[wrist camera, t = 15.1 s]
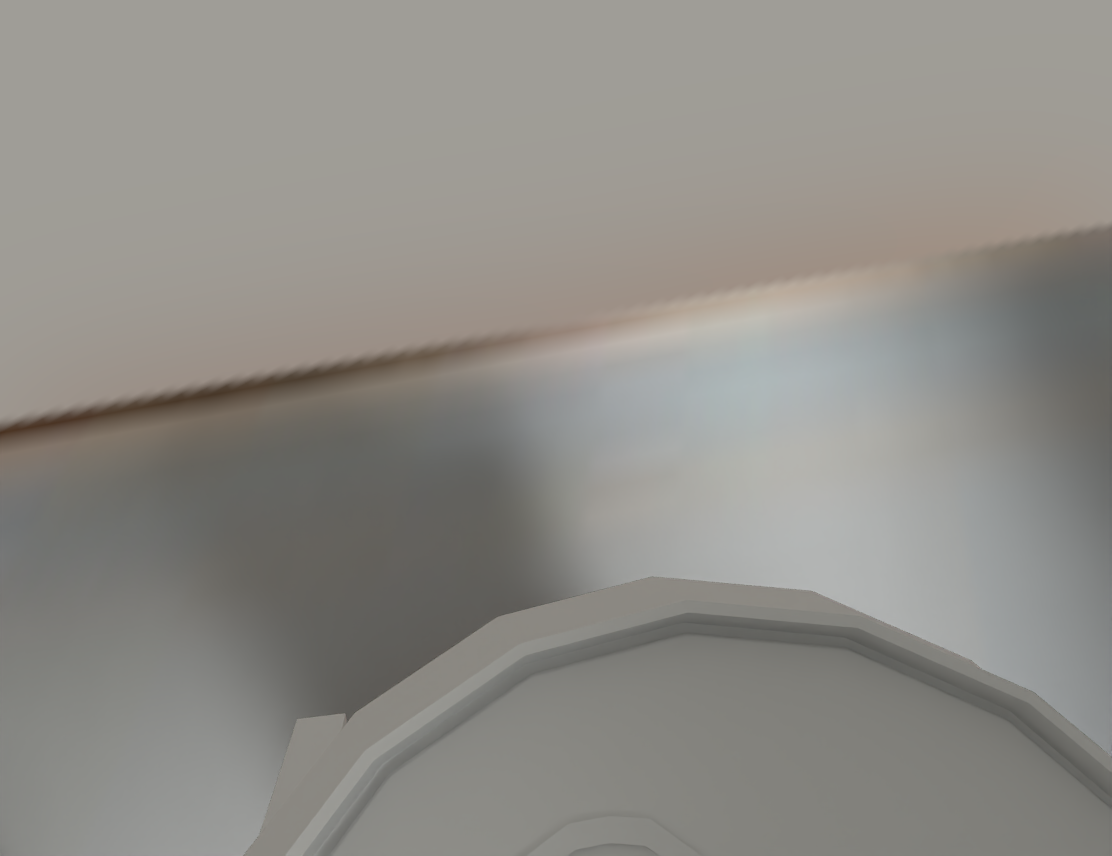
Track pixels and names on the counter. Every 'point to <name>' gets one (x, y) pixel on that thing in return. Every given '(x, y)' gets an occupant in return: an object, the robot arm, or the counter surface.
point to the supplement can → (700, 742)
